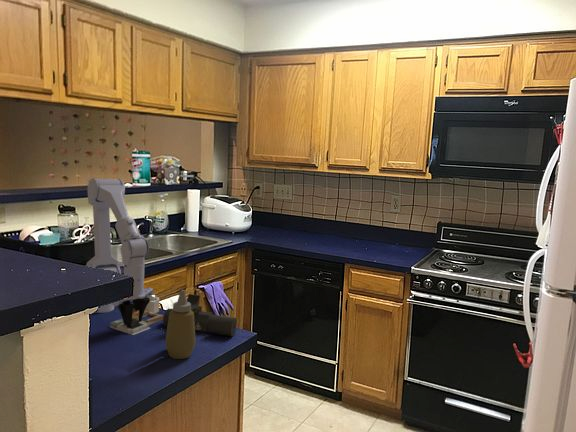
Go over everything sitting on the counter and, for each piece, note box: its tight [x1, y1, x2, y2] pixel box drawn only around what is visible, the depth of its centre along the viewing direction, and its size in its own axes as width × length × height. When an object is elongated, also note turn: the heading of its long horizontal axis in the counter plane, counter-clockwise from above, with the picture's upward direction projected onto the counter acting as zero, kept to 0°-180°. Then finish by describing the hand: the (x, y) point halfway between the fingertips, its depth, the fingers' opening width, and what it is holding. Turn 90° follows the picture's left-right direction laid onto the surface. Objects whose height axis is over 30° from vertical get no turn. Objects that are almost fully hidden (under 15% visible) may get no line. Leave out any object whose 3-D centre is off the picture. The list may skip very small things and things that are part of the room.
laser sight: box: [162, 293, 238, 337], centre depth 145 cm, size 10×22×10 cm, turn 80°
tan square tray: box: [141, 310, 164, 326], centre depth 150 cm, size 7×8×2 cm
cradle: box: [109, 318, 151, 336], centre depth 142 cm, size 10×7×2 cm
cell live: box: [126, 308, 139, 329], centre depth 141 cm, size 4×4×6 cm
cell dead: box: [146, 293, 157, 301], centre depth 157 cm, size 4×4×6 cm
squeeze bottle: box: [164, 289, 197, 360], centre depth 127 cm, size 8×8×18 cm
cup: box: [145, 296, 160, 314], centre depth 158 cm, size 6×6×5 cm
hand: (132, 323), depth 141 cm, fingers closed on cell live, 4 cm apart
